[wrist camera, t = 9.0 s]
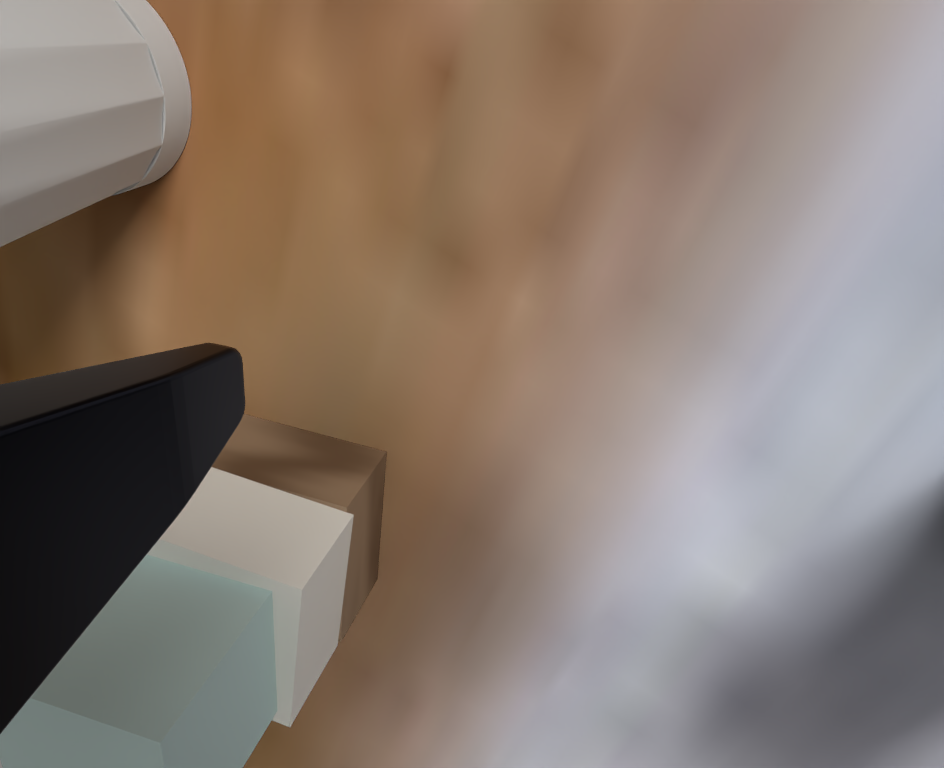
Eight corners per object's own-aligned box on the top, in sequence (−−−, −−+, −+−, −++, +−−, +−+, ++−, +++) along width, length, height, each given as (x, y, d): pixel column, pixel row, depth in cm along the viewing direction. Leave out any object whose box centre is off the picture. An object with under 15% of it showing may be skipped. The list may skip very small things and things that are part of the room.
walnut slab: (387, 449, 27) (346, 507, 24) (378, 576, 30) (340, 642, 27) (235, 409, 28) (177, 459, 25) (240, 535, 31) (189, 594, 28)
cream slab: (353, 514, 24) (301, 590, 21) (337, 645, 27) (290, 727, 24) (184, 457, 25) (111, 521, 22) (186, 589, 28) (122, 662, 25)
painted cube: (272, 591, 21) (159, 743, 17) (277, 710, 24) (180, 869, 19) (116, 545, 22) (-27, 678, 18) (137, 664, 25) (15, 806, 20)
